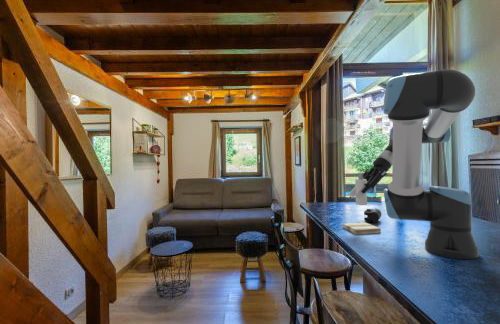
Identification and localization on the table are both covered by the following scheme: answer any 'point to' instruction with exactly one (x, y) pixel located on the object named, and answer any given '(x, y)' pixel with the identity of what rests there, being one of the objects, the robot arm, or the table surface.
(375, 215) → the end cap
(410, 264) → the table surface
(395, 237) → the table surface
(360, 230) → the oak board
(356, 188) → the white bottle
